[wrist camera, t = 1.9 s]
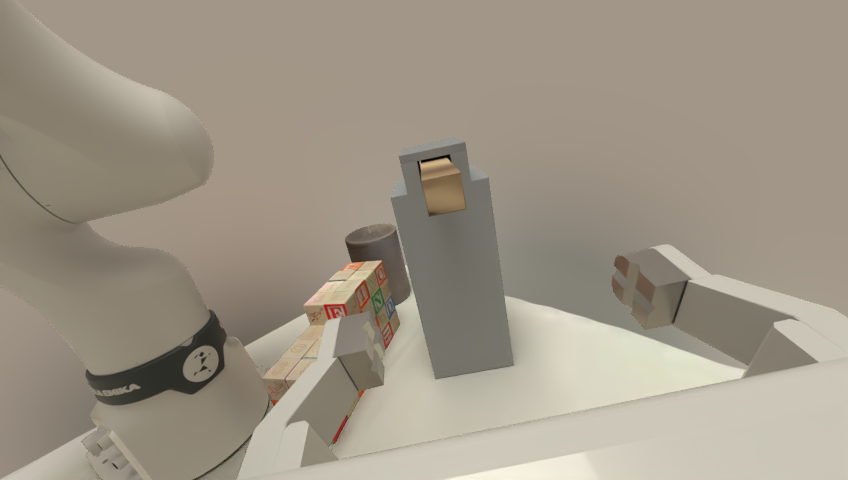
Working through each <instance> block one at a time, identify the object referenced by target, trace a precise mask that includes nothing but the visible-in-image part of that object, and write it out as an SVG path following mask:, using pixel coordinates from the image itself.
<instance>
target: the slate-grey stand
mask: <svg viewBox="0 0 848 480" xmlns="http://www.w3.org/2000/svg"><path fill="white" fill-rule="evenodd" d="M443 155H445V156H446V157H447V158H448V159H449V161H450V162H451V163H452V164H454V165H455V166H456V168H457V169H458V170H459V171H460V172H461V178H462V184H463V190H464V196H465V202H466V208H467V209H465V210H460V211H455V212H450V213H445V214H441V215H436V216H431V217H429V215H428V210H427V205H426V201H425V196H424V191H423V186H422V181H421V169H420V164H419V161H420V160H425V159H429V158H434V157H439V156H443ZM399 159H400V163H401V168H402V172H403V176H404V179H403V180H398V181H397V182H396V185H395V187H394V190H393V193H392V196H391V201H392V205H393V209H394V213H395V217H396V221H397V225H398V229H399V233H400V237H401V241H402V245H403V250H404V254H405V257H406V262H407V266H408V270H409V274H410V278H411V282H412V286H413V290H414V294H415V298H416V302H417V306H418V310H419V314H420V318H421V323H422V327H423V331H424V335H425V339H426V343H427V347H428V351H429V355H430V359H431V363H432V367H433V371H434V375H435V379H438V378H444V377H450V376H455V375H461V374H467V373H473V372H478V371H484V370H490V369H496V368H501V367H507V366H513V358H512V351H511V343H510V336H509V328H508V321H507V313H506V306H505V298H504V290H503V283H502V276H501V268H500V260H499V254H498V245H497V238H496V230H495V223H494V215H493V207H492V201H491V193H490V185H489V178H488V177H487V176H486V175H485V174H483V173H482V172H481V171H479V170H478V169H477V168H476V167H474V166H473V165H470V166H469V164H468V157H467V151H466V144H465V142H463V141H461V140H459V139H456V138H450V139H445V140H440V141H436V142H431V143H427V144H422V145H417V146H413V147H408V148H404V149H403V150H402V152H401V154H400V155H399Z"/></svg>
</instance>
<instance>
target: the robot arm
mask: <svg viewBox="0 0 848 480" xmlns="http://www.w3.org/2000/svg"><path fill="white" fill-rule="evenodd" d="M213 163H214V151H213V145H212V142H211V139H210V136H209V134H208V132H207V130H206V128H205V127H204V125H203V124H202V122H201V121H200V120H199V119H198V117H197V116H196V115H195V114H194V113H193V112H192V111H191V110H190V109H189V108H188V107H187V106H185V105H184V104H183V103H181V102H180V101H178V100H177V99H175V98H174V97H172V96H170V95H169V94H167V93H165V92H162V91H160V90H156V89H153V88H150V87H148V86H144V85H142V84H139V83H137V82H135V81H132V80H130V79H128V78H125V77H123V76H121V75H119V74H117V73H115V72H113V71H111V70H109V69H108V68H106V67H104V66H102V65H101V64H99V63H97V62H95V61H94V60H92V59H90V58H89V57H87V56H86V55H84V54H83V53H81V52H80V51H78V50H77V49H75V48H74V47H72V46H71V45H70V44H68V43H67V42H65V41H64V40H63V39H61V38H60V37H59V36H57V35H56V34H55V33H54V32H52V31H51V30H50V29H49V28H47V27H46V26H45V25H44V24H42V23H41V22H40V21H38V19H37V18H36V17H34V16H33V15H32V14H31V13H30V12H29V11H28V10H27V9H26V8H24V7H23V6H22V5H21V4H20V3H19V2H18V1H17V0H0V287H1V288H3V289H5V290H7V291H9V292H10V293H12V294H14V295H16V296H17V297H19V298H21V299H22V300H24V301H25V302H26V303H28V304H29V305H31V306H32V307H33V308H34V309H35V310H37V311H38V312H39V313H40V314H41V315H42V316H43V317H44V318H45V319H46V320H47V321H48V322H49V323H50V324H51V325H52V326H53V327H54V329H55V330H56V331H57V332H58V333H59V334H60V335H61V337H62V338H63V339H64V340H65V341H66V342H67V343H68V345H69V346H70V347H71V349H72V350H73V351H74V352H75V353H76V355H77V356H78V357H79V359H80V360H81V361H82V362H83V364H84V365H85V366H86V368H87V371H86V378H87V380H88V385H89V387H90V389H91V391H92V392H93V393H94V394H95V396H96V398H97V399H98V402H97V404H96V406H95V407H94V409H93V411H92V413H91V415H90V418H91V419H92V421H93V422H94V423H95V425H96V426H97V427H98V429H97V431H94V432H93V433H91V434H90V435H88V436H87V437H85V438H84V439H83V440H82V441H81V442H82V443H83V445H84V446H85V447H86V448H87V449H88V452H87V453H86V457H87V459H88V461H89V463H90V464H91V466H92V467H93V468H94V470H95V471H96V472H97V474H98V475H99V477H100V478H101V479H102V480H193V479H195V478H197V477H199V476H201V475H202V474H204V473H206V472H208V471H209V470H211V469H212V468H214V467H215V466H217V465H218V464H220V463H221V462H222V461H224V460H225V459H226V458H227V457H229V456H230V455H231V454H232V453H233V452H234V451H236V450H237V449H238V448H239V447H240V446H241V445H242V444H243V443H244V442H245V441H246V440H247V439H248V437H249V436H250V435H251V434H252V433H253V435H252V437H251V440H250V443H249V446H248V449H247V452H246V454H245V457H244V460H243V463H242V466H241V469H240V471H239V474H238V477H237V480H848V318H847V317H846V316H844V315H842V314H841V313H839V312H837V311H836V310H834V309H832V308H829V307H825V306H822V305H818V304H815V303H812V302H808V301H805V300H801V299H798V298H795V297H792V296H788V295H785V294H781V293H778V292H775V291H771V290H768V289H764V288H761V287H758V286H754V285H751V284H747V283H745V282H741V281H738V280H734V279H731V278H728V277H724V276H721V275H718V274H716V275H710V274H709V273H708V272H706V271H705V270H704V269H702V268H701V267H700V266H698V265H697V264H695V263H694V262H693V261H691V260H690V259H689V258H688V257H686V256H685V255H683V254H682V253H681V252H679V251H678V250H677V249H675V248H674V247H672V246H671V245H667V244H664V245H660V246H656V247H652V248H649V249H643V250H639V251H635V252H631V253H627V254H622V255H618V256H617V257H616V259H615V262H614V266H615V267H616V268H617V269H618V270H617V271H616V272H615V273H614V275H613V276H612V287H613V291H614V293H615V295H616V297H617V298H618V299H619V301H620V302H621V303H622V304H624V305H627V306H629V307H631V315H632V316H633V317H634V318H635V319H636V320H637V321H638V323H639V324H640V325H641V326H642V327H643V328H644V329H645V330H646V329H652V328H657V327H663V326H668V325H673V324H674V325H673V326H674V327H676V328H678V329H680V330H682V331H684V332H686V333H688V334H690V335H691V336H693V337H695V338H697V339H699V340H701V341H703V342H705V343H706V344H708V345H710V346H712V347H714V348H716V349H718V350H720V351H721V352H723V353H725V354H727V355H729V356H731V357H733V358H735V359H736V360H739V361H740V362H742V363H744V364H746V365H748V367H747V369H746V371H745V372H744V374H743V376H742V378H740V379H736V380H731V381H726V382H721V383H716V384H711V385H706V386H701V387H696V388H691V389H686V390H681V391H676V392H671V393H666V394H661V395H656V396H651V397H647V398H642V399H637V400H632V401H627V402H622V403H617V404H612V405H607V406H602V407H597V408H592V409H587V410H582V411H577V412H572V413H567V414H562V415H558V416H553V417H548V418H543V419H538V420H533V421H528V422H523V423H518V424H513V425H508V426H503V427H499V428H494V429H489V430H484V431H479V432H474V433H469V434H464V435H459V436H454V437H449V438H444V439H439V440H434V441H429V442H424V443H419V444H414V445H410V446H405V447H400V448H395V449H390V450H385V451H380V452H375V453H370V454H365V455H360V456H355V457H350V458H345V459H340V460H339V459H338V458H337V457H336V456H335V455H334V453H333V452H332V451H331V450H330V449H329V445H330V444H331V442H332V440H333V438H334V436H335V435H336V433H337V431H338V429H339V427H340V426H341V424H342V422H343V420H344V419H345V417H346V415H347V413H348V411H349V410H350V408H351V406H352V404H353V402H354V401H355V399H356V397H357V395H358V393H359V392H358V391H362V390H366V389H370V388H374V387H378V386H382V385H384V365H383V363H382V361H381V359H382V358H383V356H384V355H385V347H384V339H383V335H382V332H381V330H380V327H378V326H376V325H375V320H376V318H375V316H374V314H373V312H371V311H369V312H364V313H359V314H353V315H348V316H343V317H340V318H335V319H330V320H327V322H326V323H325V326H324V330H323V334H322V338H321V343H320V347H319V351H318V355H317V360H316V362H313V363H311V364H310V365H309V366H308V368H307V369H306V370H305V371H304V372H303V373H302V375H301V376H300V377H299V378H298V379H297V380H296V382H295V383H294V384H293V385H292V386H291V387H290V389H289V390H288V391H287V392H286V393H285V394H284V396H283V397H282V398H281V399H280V400H279V401H278V403H277V404H276V405H275V406H274V407H273V408H272V410H271V411H270V412H269V413H268V414H267V415H266V417H265V418H264V419H263V420H262V418H263V416H264V414H265V412H266V409H267V406H268V402H269V394H268V391H267V389H266V386H265V384H264V382H263V380H262V377H263V376H264V375H265V374H266V373H267V372H268V371H267V370H266V368H265V367H256V366H255V364H254V363H253V361H252V360H251V358H250V357H249V355H248V353H247V352H246V350H245V349H244V347H243V346H242V344H241V343H240V341H239V340H238V339H237V338H236V337H230V336H227V335H226V332H225V331H224V329H223V327H222V326H223V325H222V323H221V321H220V320H219V318H218V317H217V316H216V315H215V313H214V312H213V311H212V310H209V309H208V308H207V306H206V304H205V302H204V300H203V298H202V296H201V295H200V292H199V291H198V289H197V287H196V285H195V283H194V281H193V279H192V277H191V275H190V273H189V271H188V270H187V268H186V266H185V264H184V263H183V262H182V261H180V260H179V259H178V258H177V257H175V256H173V255H171V254H169V253H167V252H164V251H161V250H158V249H152V248H143V247H128V246H123V245H119V244H116V243H114V242H111V241H109V240H107V239H105V238H103V237H102V236H100V235H99V234H98V233H96V232H95V231H94V230H93V229H92V228H91V227H90V226H89V224H88V223H87V221H91V220H95V219H99V218H104V217H108V216H112V215H116V214H120V213H124V212H128V211H133V210H136V209H141V208H145V207H149V206H153V205H158V204H161V203H164V202H166V201H168V200H171V199H173V198H176V197H178V196H180V195H183V194H185V193H187V192H189V191H191V190H194V189H196V188H198V187H200V186H203V185H205V184H206V182H207V181H208V179H209V177H210V175H211V172H212V168H213ZM261 420H262V421H261ZM260 421H261V422H260ZM259 423H260V424H259ZM253 431H254V432H253Z"/></svg>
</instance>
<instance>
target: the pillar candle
mask: <svg viewBox="0 0 848 480" xmlns="http://www.w3.org/2000/svg"><path fill="white" fill-rule="evenodd" d="M345 242H346V245H347V248H348V251H349V255H350V258H351V261H352V263H356V262H366V261H382V262H383V265H384V269H385V273H386V277H387V279H388V282H389V286H390V290H391V295H392V298H393V302H394V305H398V304H400V303H401V302H403V301H404V300H405V299H407V297H408V296H409V295H410V286H409V281H408V277H407V273H406V268H405V264H404V260H403V256H402V252H401V248H400V244H399V240H398V236H397V231H396V227H395V226H394V225H392V224H378V225H371V226H367V227H364V228H360V229H358V230H356V231H354V232H352V233H350V234H349V235H348V236H347V237H346V239H345Z"/></svg>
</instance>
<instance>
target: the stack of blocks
mask: <svg viewBox="0 0 848 480" xmlns="http://www.w3.org/2000/svg"><path fill="white" fill-rule="evenodd" d="M304 308H305V311H306V314H307V317H308V319H309V322H310V326H309V328H308V329H307V330H306V331H305V332H304V333H303V334H302V335H301V336H300V337H299V338H298V340H296V341H295V342H294V343H293V344H292V345H291V346H290V348H289V349H288V350H287V351H286V352H285V353H284V354H283V355H282V356H281V357H280V359H279V360H278V361H277V362H276V363H275V364H274V365H273V366H272V367H271V368H270V369H269V370H268V372H267V373H266V374H265V375H264V376H263V377H262V380H263V382H264V384H265V386H266V389H267V391H268V393H269V395H270V397H271V399H272V400H271V401H272V403H273V405H274V406H275V405H276V404H277V403H278V401H279V400H280V399H281V398H282V397H283V396H284V394H285V393H286V392H287V391H288V390H289V389H290V387H291V386H292V385H293V384H294V383H295V382H296V380H297V379H298V378H299V377H300V376H301V375H302V373H303V372H304V371H305V370H306V369H307V368H308V366H309V365H310V364H311V363H313V362H316V360H317V355H318V351H319V347H320V343H321V338H322V334H323V330H324V326H325V323H326V322H327V320H330V319H335V318H340V317H343V316H348V315H353V314H359V313H364V312H369V311H371V312H373V314H374V316H375V318H376V320H375V325H376V326H378V327H380V330H381V332H382V335H383V339H384V347H385V349H386V348H387V347H388V345H389V343H390V341H391V339H392V338H393V335H394V334H395V332H396V330H397V329H398V327H399V325H400V323H399V319H398V316H397V312H396V309H395V305H394V302H393V298H392V295H391V290H390V286H389V282H388V279H387V277H386V273H385V269H384V265H383V262H382V261H366V262H356V263H348V264H347V265H346V266H345V267H344V268H343V269H342V270H340V271H339V272H337V273H336V274H335V275H334V276H333V277H331V278H330V279H329V282H327V283H326V284H325V285H324V286H323V287H321V289H320V290H318V291H317V293H316V294H315V295H314V296H312V297H311V298H310V300H308V301H307V302H306V303H305V304H304ZM363 391H364V390H362V391H358V392H359V393H358V395H357V397H356V399H355V401H354V402H353V404H352V406H351V408H350V410H349V411H348V413H347V415H346V417H345V419H344V420H343V422H342V424H341V426H340V427H339V429H338V431H337V433H336V435H335V436H334V438H333V440H332V442H331V444H334V443H335V442H336V440H337V438H338V436H339V434H340V432H341V430H342V428H343V426H344V425H345V423H346V421H347V419H348V418H349V417H350V415H351V413H352V411H353V409H354V408H355V406H356V404H357V402H358V400H359V398H360V396H361V395H362V393H363Z"/></svg>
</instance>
